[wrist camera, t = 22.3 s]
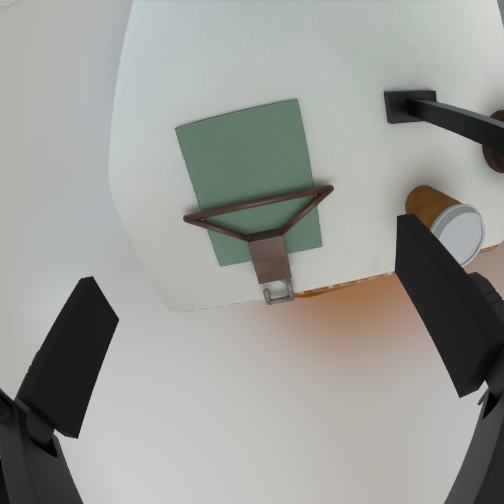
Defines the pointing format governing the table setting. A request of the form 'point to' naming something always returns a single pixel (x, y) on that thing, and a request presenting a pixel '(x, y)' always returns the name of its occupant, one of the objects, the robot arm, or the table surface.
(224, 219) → the mat
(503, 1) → the black and grey stand
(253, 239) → the hanger
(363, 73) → the table surface
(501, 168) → the black ball on stand
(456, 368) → the robot arm
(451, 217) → the disposable coffee cup
